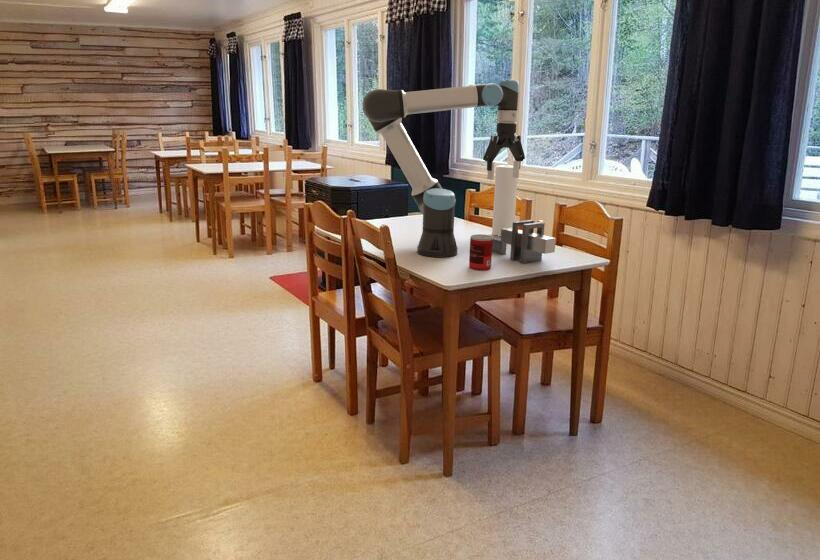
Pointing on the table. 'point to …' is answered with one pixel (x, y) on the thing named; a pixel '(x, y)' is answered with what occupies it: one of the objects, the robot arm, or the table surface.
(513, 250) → the collar stand
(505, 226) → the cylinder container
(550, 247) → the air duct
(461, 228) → the table surface
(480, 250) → the canned food
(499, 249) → the stand
